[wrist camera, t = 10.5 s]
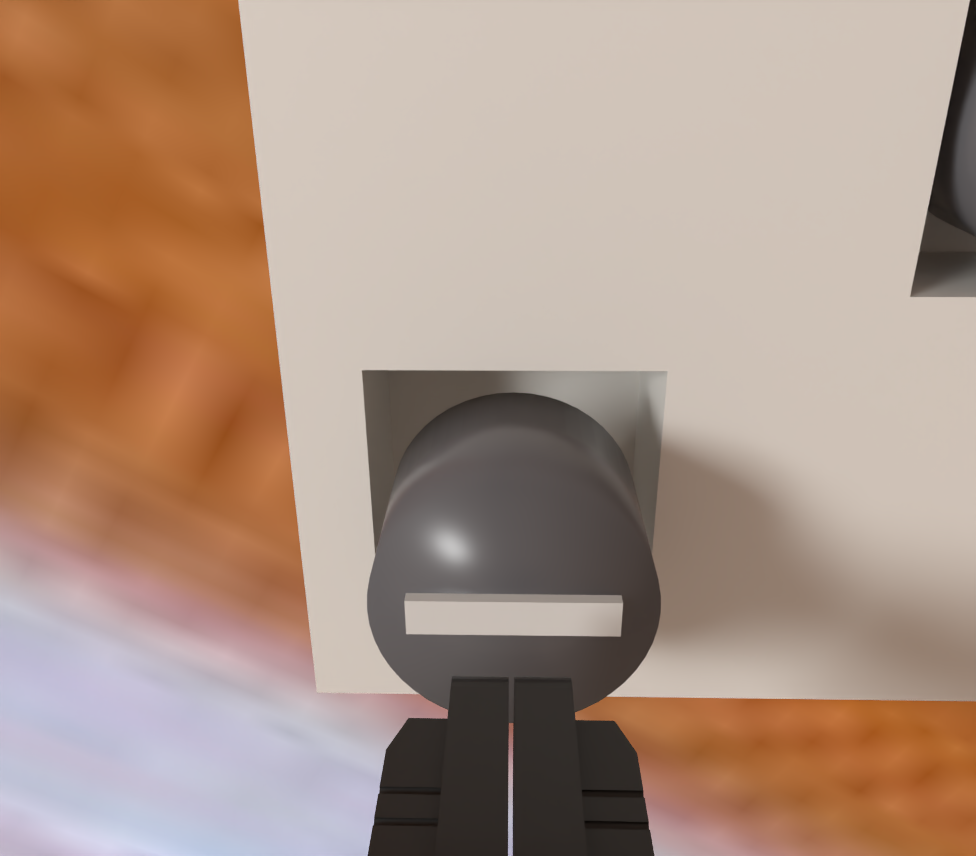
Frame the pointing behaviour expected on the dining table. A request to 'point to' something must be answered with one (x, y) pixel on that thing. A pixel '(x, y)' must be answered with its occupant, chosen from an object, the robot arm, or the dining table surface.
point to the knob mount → (642, 306)
